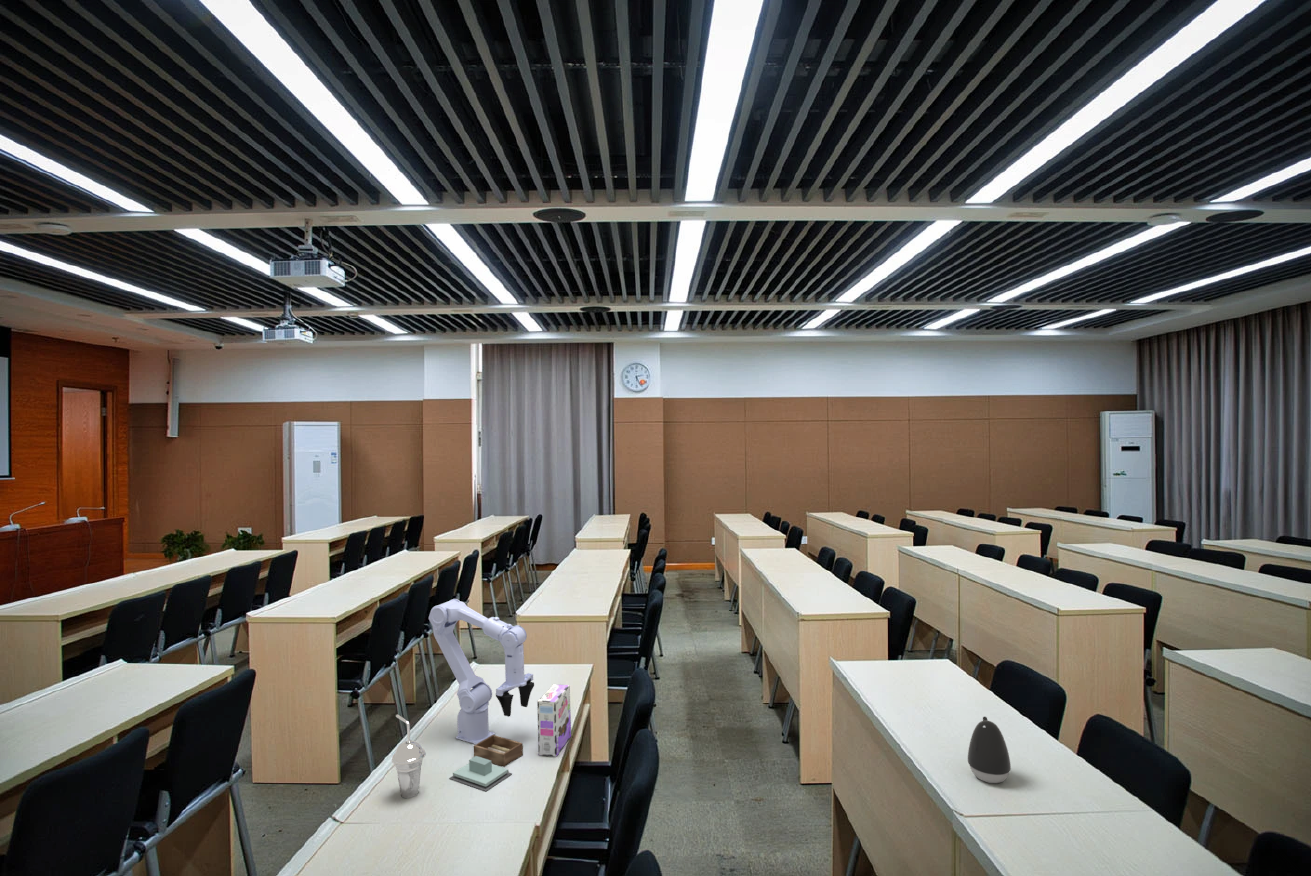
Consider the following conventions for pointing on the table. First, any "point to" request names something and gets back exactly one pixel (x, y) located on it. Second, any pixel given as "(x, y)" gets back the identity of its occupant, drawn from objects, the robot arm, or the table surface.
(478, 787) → the mat
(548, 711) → the candy box
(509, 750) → the chalk box
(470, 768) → the lid
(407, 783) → the cup with straw
